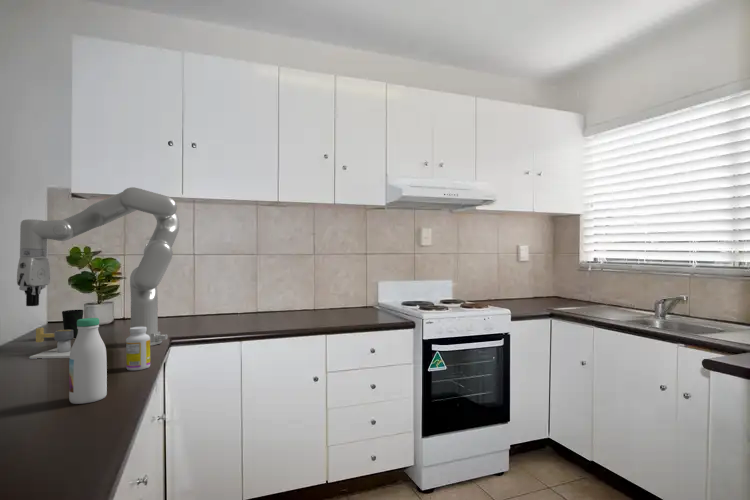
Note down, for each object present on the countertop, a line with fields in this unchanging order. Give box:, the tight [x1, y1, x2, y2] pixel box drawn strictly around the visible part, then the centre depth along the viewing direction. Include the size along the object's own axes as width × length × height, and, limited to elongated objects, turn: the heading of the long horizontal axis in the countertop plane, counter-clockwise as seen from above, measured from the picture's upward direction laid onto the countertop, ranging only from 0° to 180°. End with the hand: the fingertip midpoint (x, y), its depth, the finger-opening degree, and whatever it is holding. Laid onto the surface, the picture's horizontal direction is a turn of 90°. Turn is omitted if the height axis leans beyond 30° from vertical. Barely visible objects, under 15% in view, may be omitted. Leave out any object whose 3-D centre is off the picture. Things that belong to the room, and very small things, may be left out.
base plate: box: [29, 339, 72, 360], centre depth 154 cm, size 14×14×5 cm
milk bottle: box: [68, 317, 108, 405], centre depth 104 cm, size 8×8×20 cm
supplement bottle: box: [125, 327, 151, 371], centre depth 133 cm, size 7×7×13 cm
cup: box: [61, 309, 84, 338], centre depth 183 cm, size 8×8×12 cm
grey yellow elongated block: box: [35, 327, 74, 343], centre depth 154 cm, size 12×6×5 cm, turn 93°
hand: (32, 305), depth 149 cm, fingers closed
